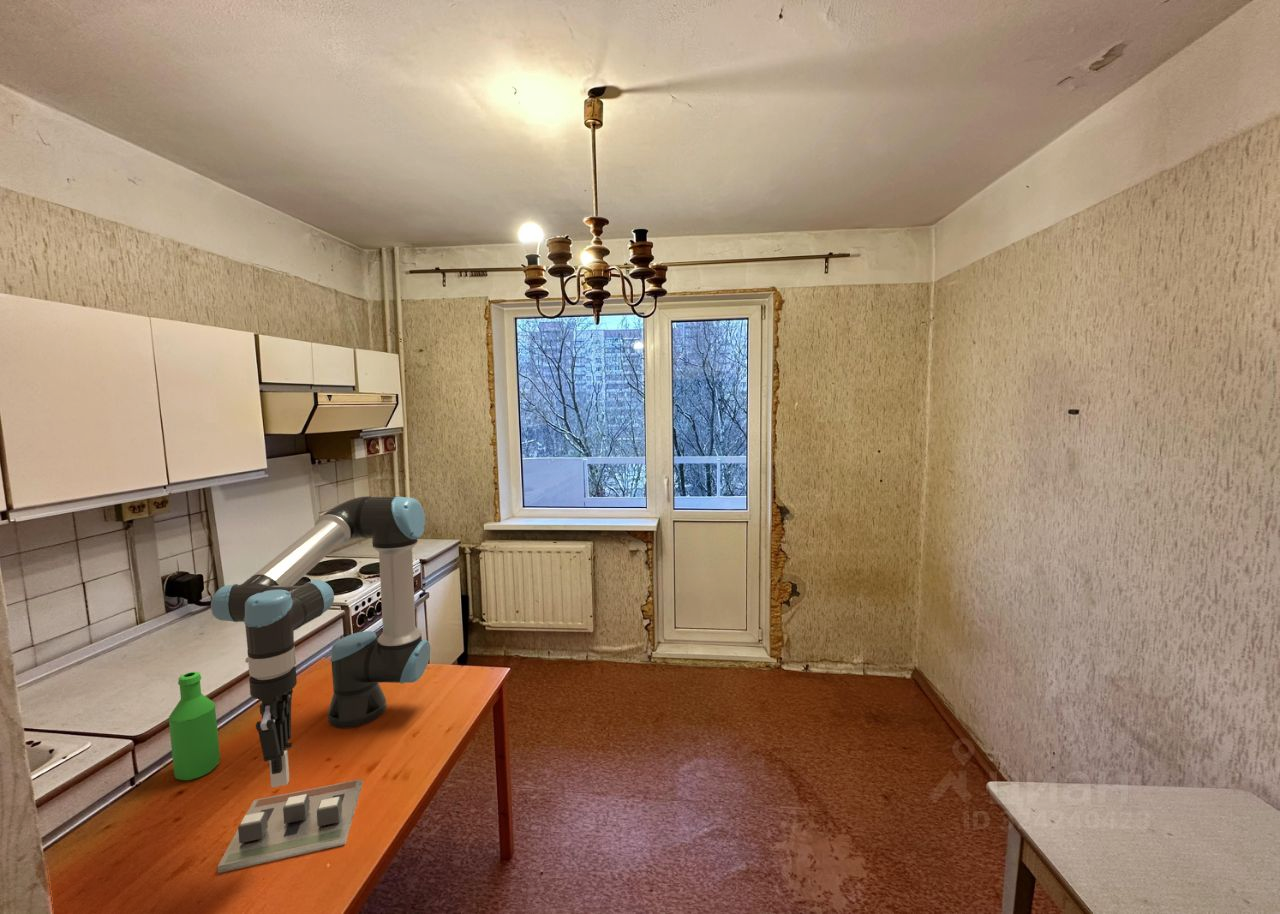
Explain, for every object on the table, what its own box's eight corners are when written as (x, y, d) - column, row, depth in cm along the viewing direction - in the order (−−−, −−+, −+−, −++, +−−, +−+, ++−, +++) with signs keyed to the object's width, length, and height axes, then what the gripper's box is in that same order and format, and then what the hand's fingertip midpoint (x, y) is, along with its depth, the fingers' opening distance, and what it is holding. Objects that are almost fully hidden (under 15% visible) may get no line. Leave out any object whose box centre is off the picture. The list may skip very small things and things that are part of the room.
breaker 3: (321, 816, 114) (320, 799, 114) (342, 811, 115) (341, 795, 115) (317, 826, 111) (316, 809, 111) (339, 822, 112) (337, 805, 112)
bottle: (227, 764, 133) (219, 670, 130) (186, 787, 125) (177, 687, 122) (208, 754, 137) (200, 663, 134) (166, 776, 129) (157, 679, 126)
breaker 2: (288, 813, 115) (287, 796, 114) (309, 809, 116) (308, 792, 115) (284, 823, 112) (282, 806, 111) (305, 819, 113) (304, 802, 113)
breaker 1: (245, 831, 110) (243, 814, 109) (267, 827, 111) (266, 810, 110) (239, 843, 107) (237, 825, 106) (262, 838, 108) (261, 820, 108)
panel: (254, 806, 119) (253, 799, 119) (362, 784, 126) (361, 778, 126) (218, 873, 102) (217, 865, 102) (345, 844, 109) (344, 837, 109)
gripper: (262, 658, 108) (270, 766, 110) (236, 691, 96) (245, 811, 98) (304, 653, 110) (311, 759, 112) (283, 684, 98) (291, 802, 100)
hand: (280, 783), depth 105 cm, fingers closed
